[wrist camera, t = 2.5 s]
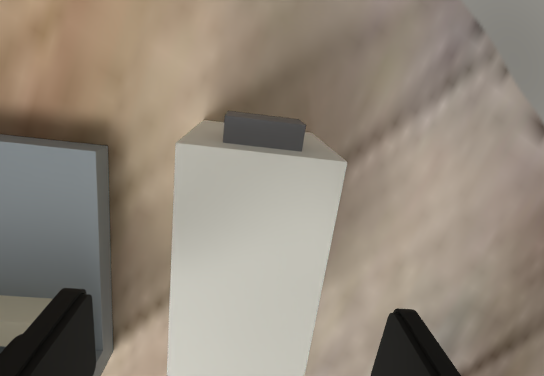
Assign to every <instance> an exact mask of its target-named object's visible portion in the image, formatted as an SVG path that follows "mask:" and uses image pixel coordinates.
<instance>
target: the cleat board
mask: <svg viewBox="0 0 544 376" xmlns="http://www.w3.org/2000/svg"><path fill="white" fill-rule="evenodd" d="M62 288H77V289H85V290H86V293H87V294H90V295H91V296H92V303H93V319H94V335H95V351H96V368H95V372H94V375H93V376H101V374H102V372H103V370H104V368H105V366H106V364H107V362H108V360H109V358H110V356H111V354H112V353H113V326H112V287H111V247H110V208H109V168H108V146H104V145H95V144H86V143H76V142H67V141H58V140H49V139H39V138H30V137H21V136H12V135H3V134H0V353H1V352H2V351H3V350H4V349H5V347H6V346H7V345H8V344H9V343H10V342H11V341H12V340H13V339H14V338H15V337H16V336H18V335H20V334H23V333H24V332H25V331H26V330H27V328H28V327H29V326H30V325H31V324H32V323H33V321H34V320H35V319H36V318H37V317H38V316H39V314H40V313H41V312H42V311H43V310H44V309H45V307H46V306H47V305H48V304H49V303H50V302H51V301H52V299H53V298H54V297H55V296H56V295H57V294H58V292H59V291H60V290H61V289H62Z"/></svg>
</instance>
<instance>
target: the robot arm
mask: <svg viewBox="0 0 544 376" xmlns="http://www.w3.org/2000/svg"><path fill="white" fill-rule="evenodd" d="M95 368H96V351H95V335H94V319H93V303H92V296H91V295H90V294H87V293H86V290H85V289H77V288H62V289H61V290H60V291H59V292H58V294H57V295H56V296H55V297H54V298H53V299H52V301H51V302H50V303H49V304H48V305H47V306H46V307H45V309H44V310H43V311H42V312H41V313H40V314H39V316H38V317H37V318H36V319H35V320H34V321H33V323H32V324H31V325H30V326H29V327H28V328H27V330H26V331H25V332H24V333H23V334H20V335H18V336H16V337H15V338H14V339H13V340H12V341H11V342H10V343H9V344H8V345H7V346H6V347H5V349H4V350H3V351H2V352H1V353H0V376H93V375H94V372H95ZM371 376H461V375H460V374H459V372H458V371H457V369H456V368H455V366H454V365H453V364H452V362H451V361H450V359H449V358H448V356H447V355H446V354H445V352H444V351H443V349H442V348H441V346H440V345H439V343H438V342H437V341H436V339H435V338H434V336H433V335H432V333H431V332H430V331H429V329H428V328H427V326H426V325H425V323H424V322H423V320H422V319H421V318H420V316H419V315H418V313H417V312H416V311H415V310H411V309H395V310H394V312H393V313H390V314H389V316H388V319H387V323H386V326H385V329H384V332H383V336H382V339H381V342H380V346H379V349H378V352H377V356H376V359H375V362H374V366H373V369H372V372H371Z"/></svg>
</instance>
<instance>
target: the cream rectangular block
mask: <svg viewBox="0 0 544 376" xmlns="http://www.w3.org/2000/svg"><path fill="white" fill-rule="evenodd" d="M305 129H306V125H305V124H304V123H302V122H301V121H300V120H299V119H291V118H283V117H275V116H267V115H259V114H251V113H243V112H235V111H228V112H227V113H226V115H225V120H224V122H218V121H209V120H203V121H202V122H200V123H199V124H198V125H197V126H195V127H194V128H193V129H192V130H191V131H189V132H188V133H187V134H186V135H185V136H183V137H182V138H181V139H180V140H179V141H177V142H176V149H175V175H174V202H173V228H172V254H171V281H170V307H169V333H168V360H167V376H305V371H306V366H307V361H308V356H309V351H310V346H311V341H312V336H313V331H314V326H315V321H316V316H317V311H318V306H319V301H320V296H321V291H322V286H323V281H324V276H325V271H326V266H327V261H328V256H329V251H330V246H331V241H332V236H333V232H334V227H335V222H336V217H337V212H338V207H339V202H340V197H341V192H342V187H343V182H344V177H345V172H346V167H347V161H346V160H344V159H343V158H342V157H341V156H340V155H338V154H337V153H336V152H335V151H333V150H332V149H331V148H330V147H329V146H327V145H326V144H325V143H324V142H323V141H321V140H320V139H319V138H318V137H317V136H315V135H314V134H313V133H310V132H305Z"/></svg>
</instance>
